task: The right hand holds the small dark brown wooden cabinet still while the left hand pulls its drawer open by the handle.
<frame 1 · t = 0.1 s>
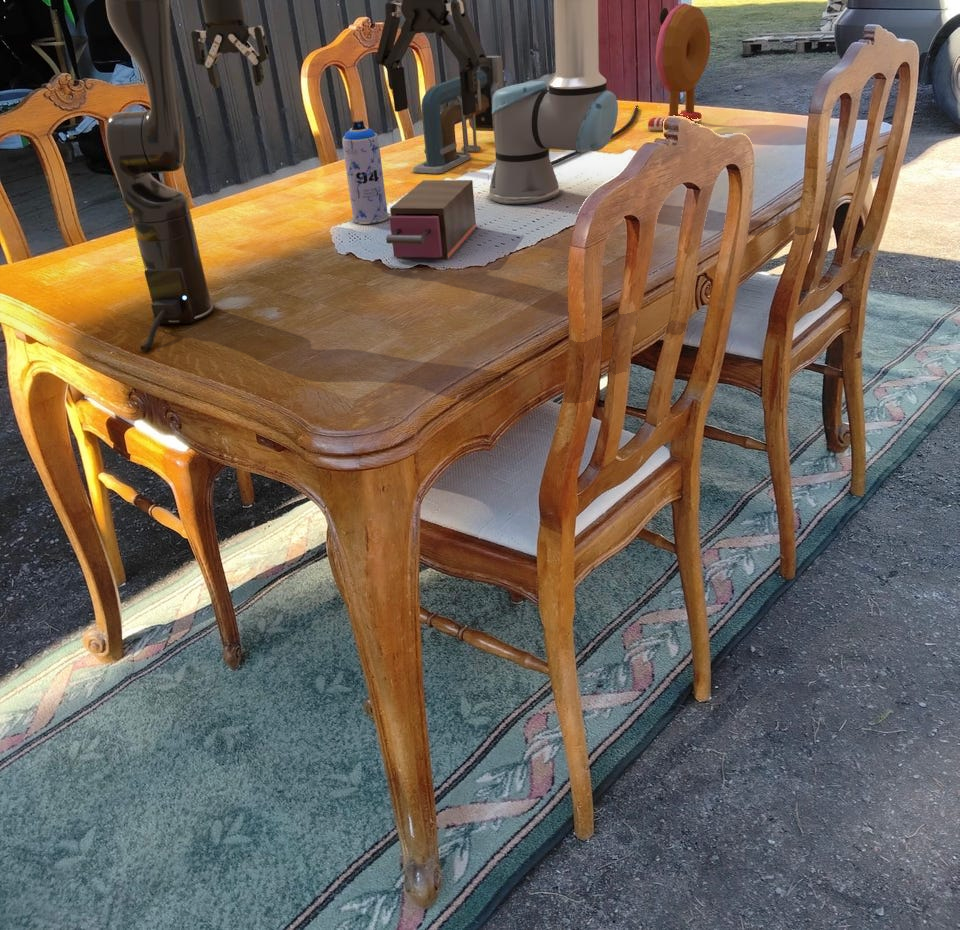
left hand: (238, 86, 189), 29 cm above the table, tool pointing down, fingers open, 8 cm apart
right hand: (434, 111, 158), 28 cm above the table, tool pointing down, fingers open, 13 cm apart
cabinet: (437, 241, 190), on the table
toy: (676, 126, 261), on the table
drawer: (425, 227, 182), point 5 cm above the table, slide at 1.2 cm
clamp: (460, 156, 250), on the table
aerosol can: (370, 219, 206), on the table
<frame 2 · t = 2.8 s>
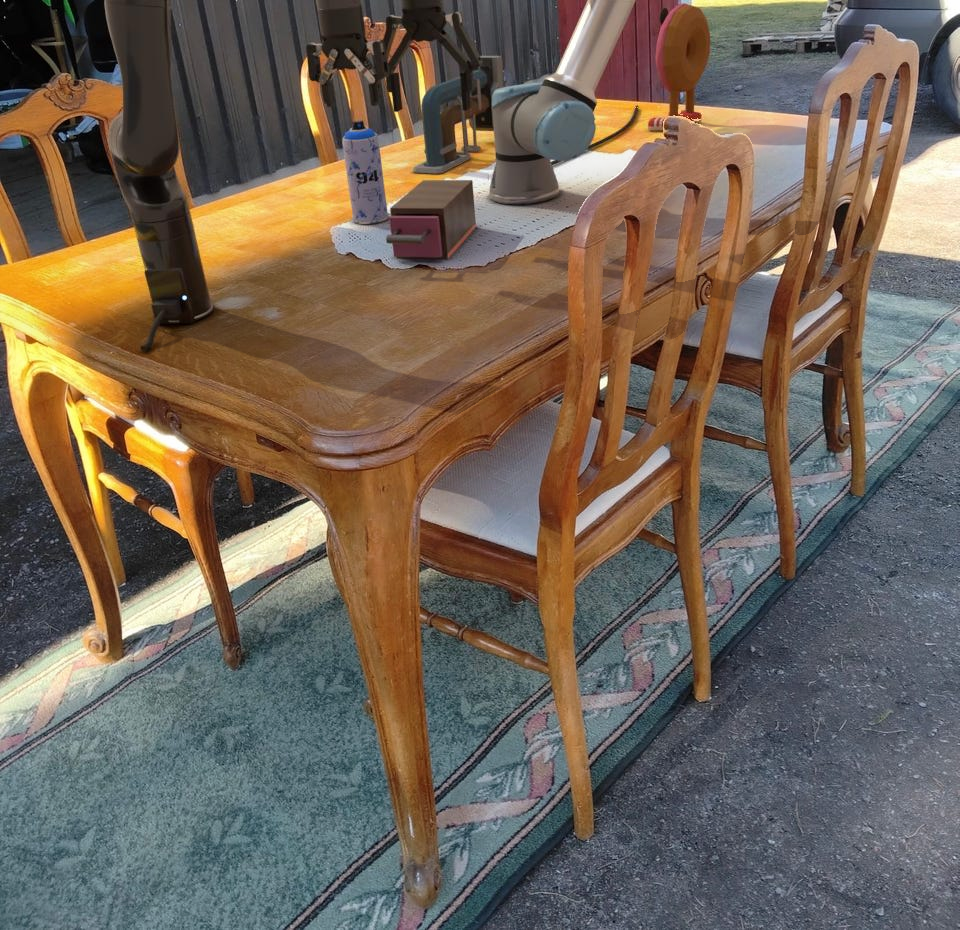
left hand: (353, 105, 170), 28 cm above the table, tool pointing down, fingers open, 8 cm apart
right hand: (432, 109, 181), 24 cm above the table, tool pointing down, fingers open, 13 cm apart
nothing on the table moved.
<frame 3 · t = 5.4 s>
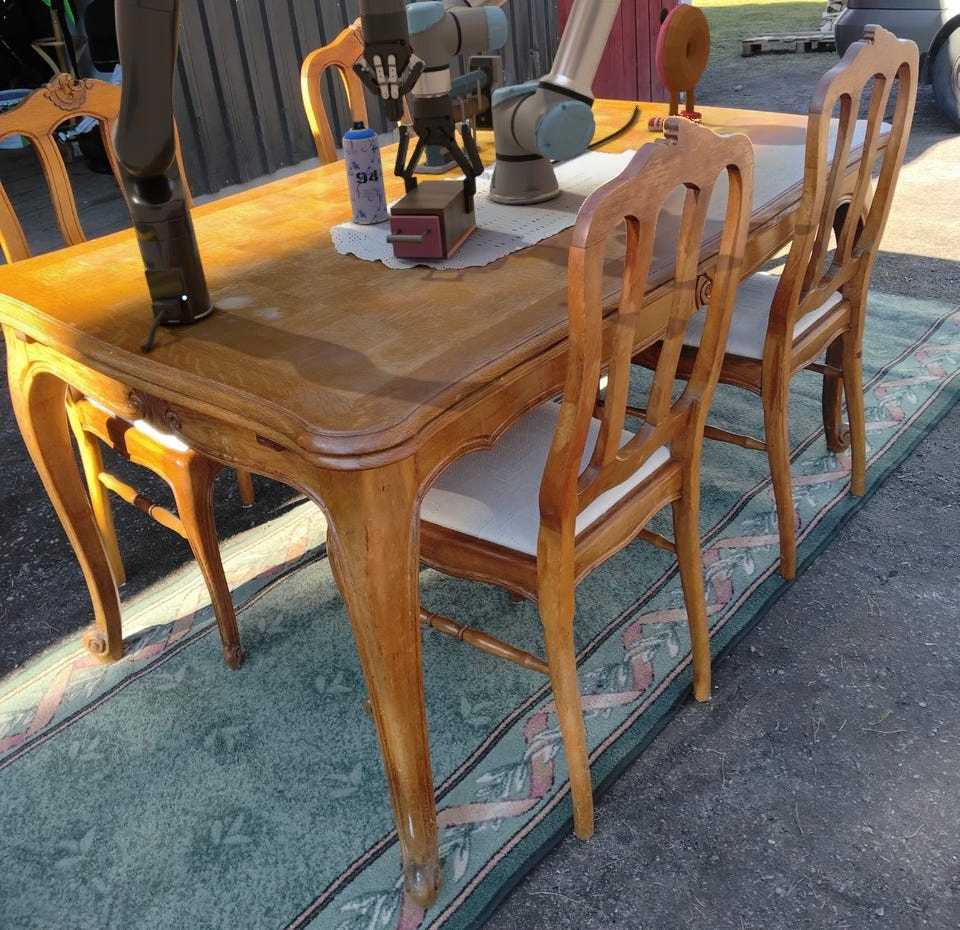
left hand: (395, 120, 164), 26 cm above the table, tool pointing down, fingers closed
right hand: (442, 211, 191), 5 cm above the table, tool pointing down, fingers closed on cabinet, 10 cm apart
cabinet: (437, 241, 190), on the table, touching right hand
everything else where it was.
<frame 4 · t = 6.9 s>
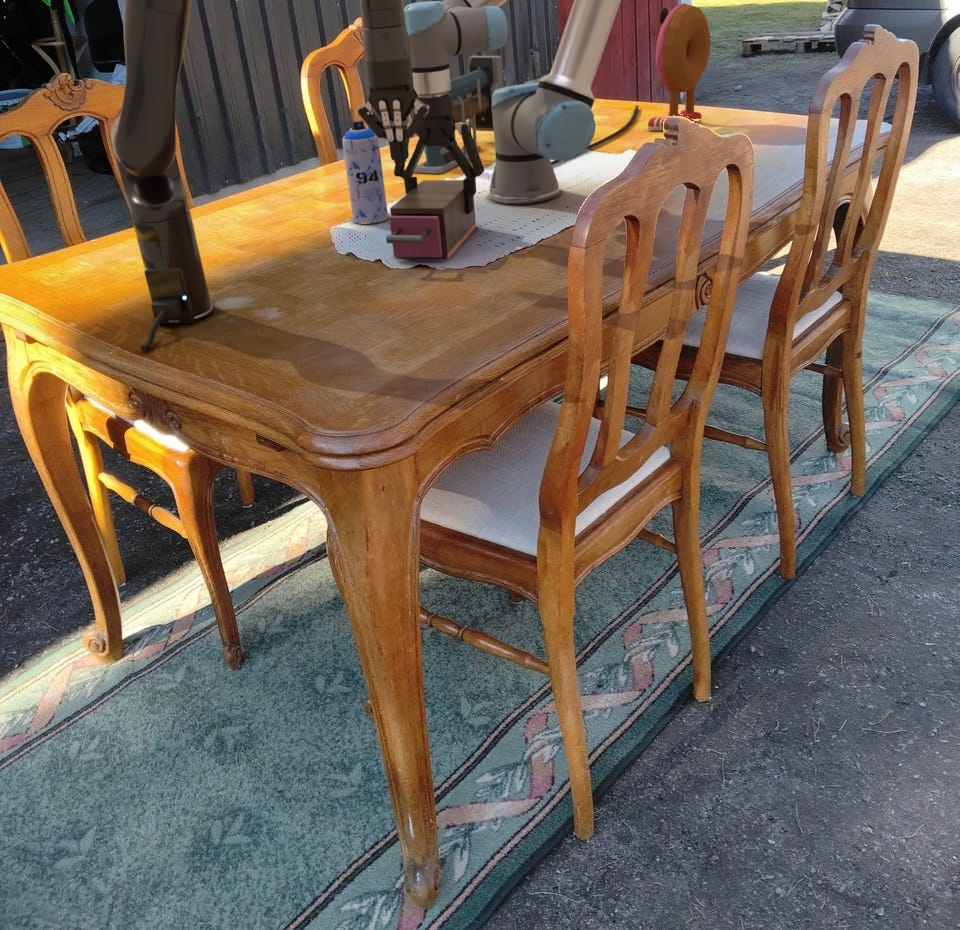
left hand: (400, 162, 168), 19 cm above the table, tool pointing down, fingers closed
right hand: (442, 211, 191), 5 cm above the table, tool pointing down, fingers closed on cabinet, 10 cm apart
cabinet: (437, 241, 190), on the table, touching right hand
everything else where it was.
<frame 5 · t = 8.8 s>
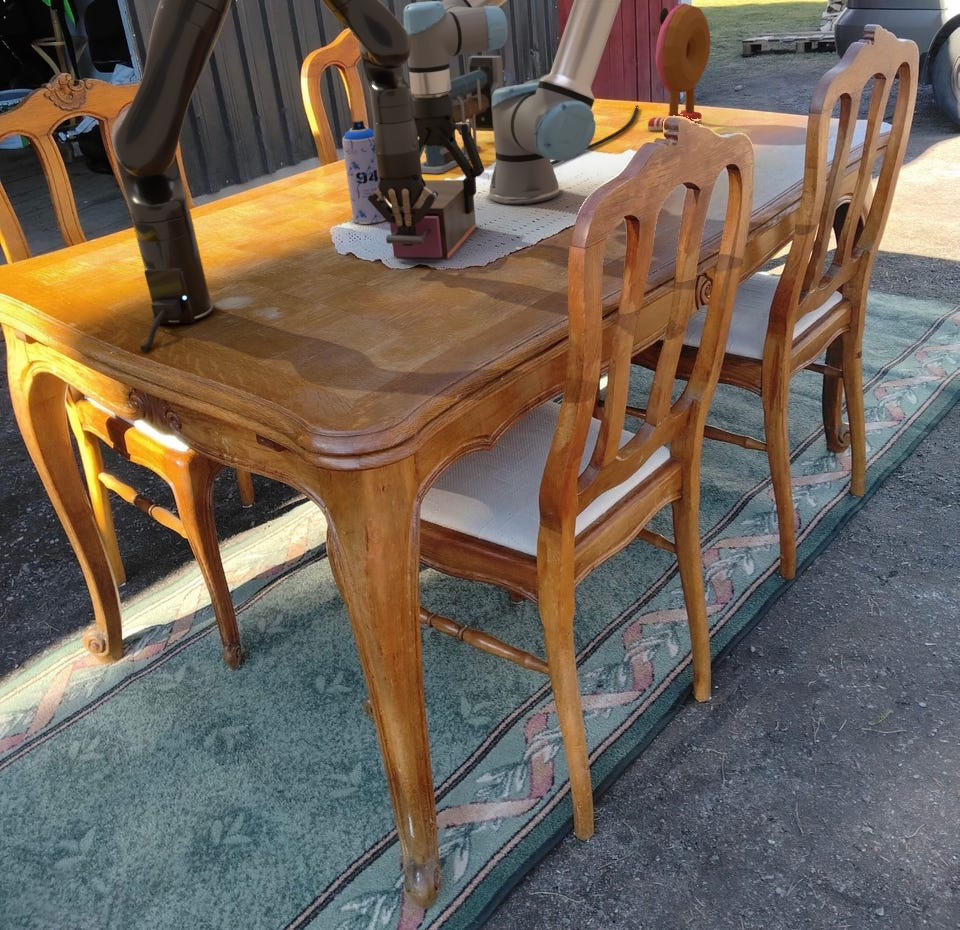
left hand: (408, 244, 175), 4 cm above the table, tool pointing down, fingers closed
right hand: (442, 211, 191), 5 cm above the table, tool pointing down, fingers closed on cabinet, 10 cm apart
cabinet: (437, 241, 190), on the table, touching right hand
drawer: (425, 227, 182), point 5 cm above the table, slide at 1.2 cm, touching left hand
everything else where it was.
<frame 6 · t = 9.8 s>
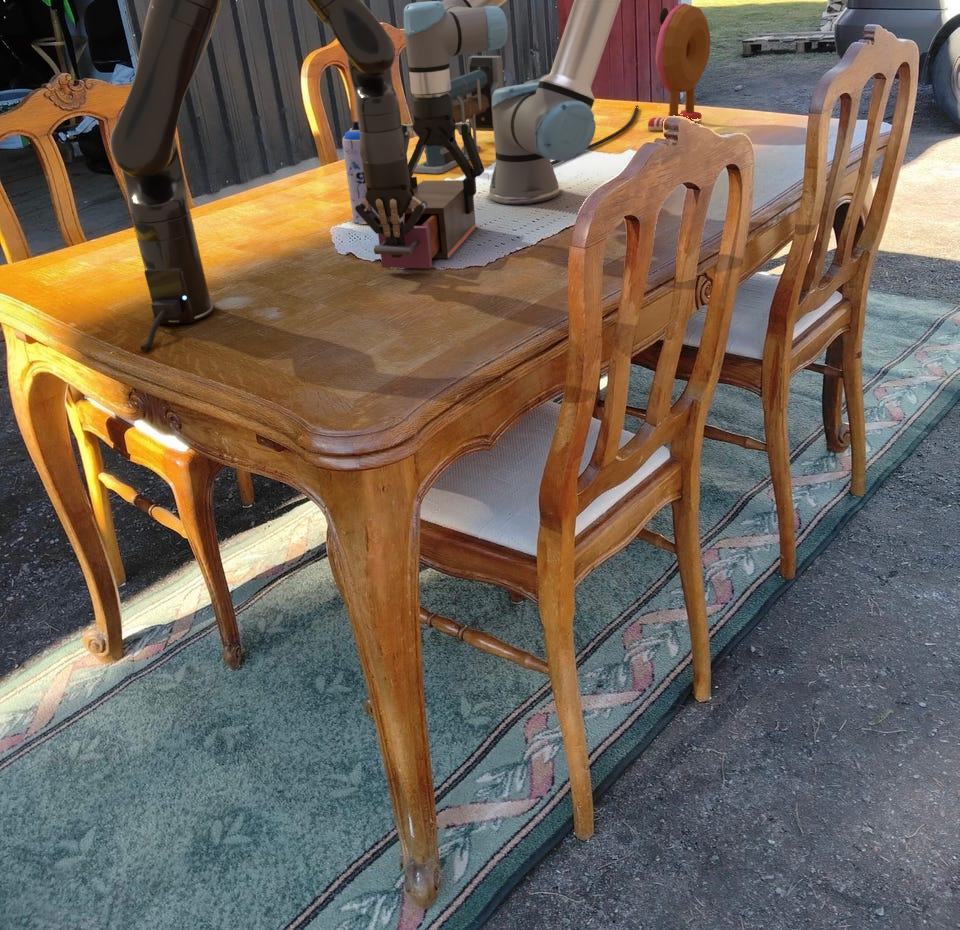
left hand: (397, 256, 170), 5 cm above the table, tool pointing down, fingers closed
right hand: (442, 211, 191), 5 cm above the table, tool pointing down, fingers closed on cabinet, 10 cm apart
cabinet: (437, 241, 189), on the table, touching right hand
drawer: (414, 237, 177), point 5 cm above the table, slide at 7.4 cm, touching left hand
everything else where it was.
when the right hand's fingers open (5 cm above the table, at t = 11.5 s): cabinet stays where it is, on the table.
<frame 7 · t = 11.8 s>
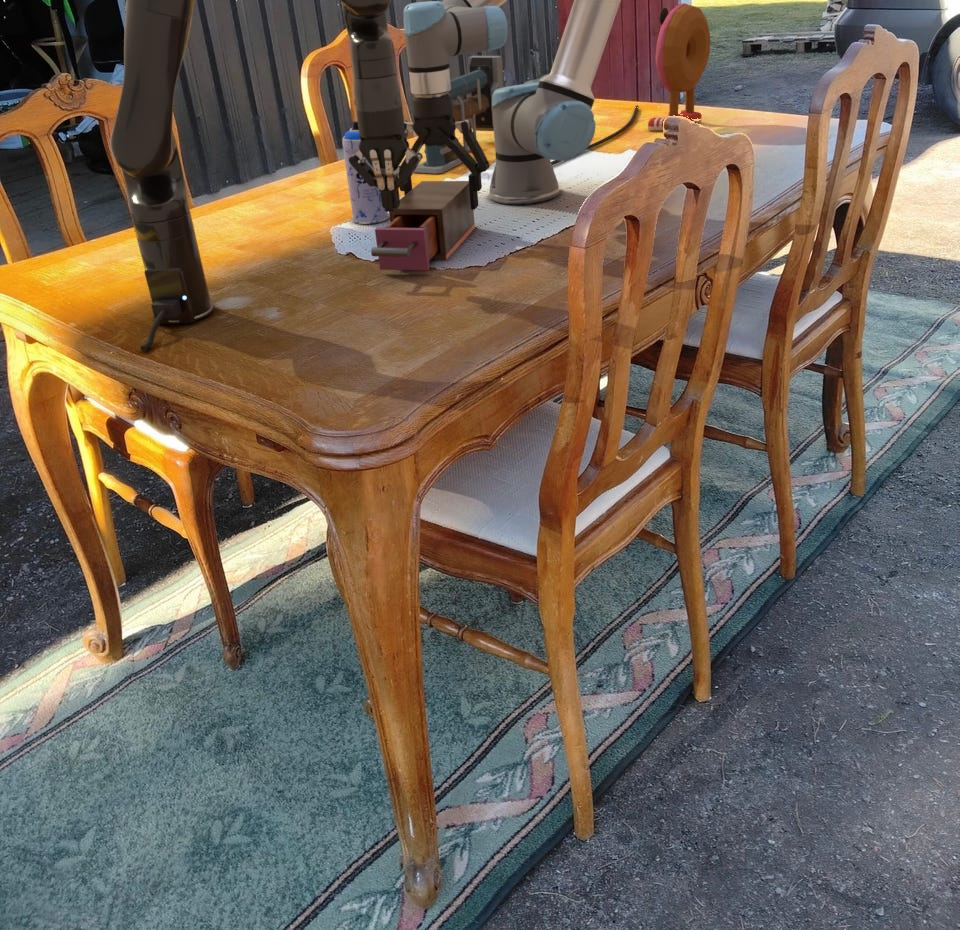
left hand: (391, 210, 166), 13 cm above the table, tool pointing down, fingers closed
right hand: (442, 207, 191), 5 cm above the table, tool pointing down, fingers open, 13 cm apart
cabinet: (436, 242, 189), on the table
drawer: (412, 239, 176), point 5 cm above the table, slide at 7.8 cm
everything else where it was.
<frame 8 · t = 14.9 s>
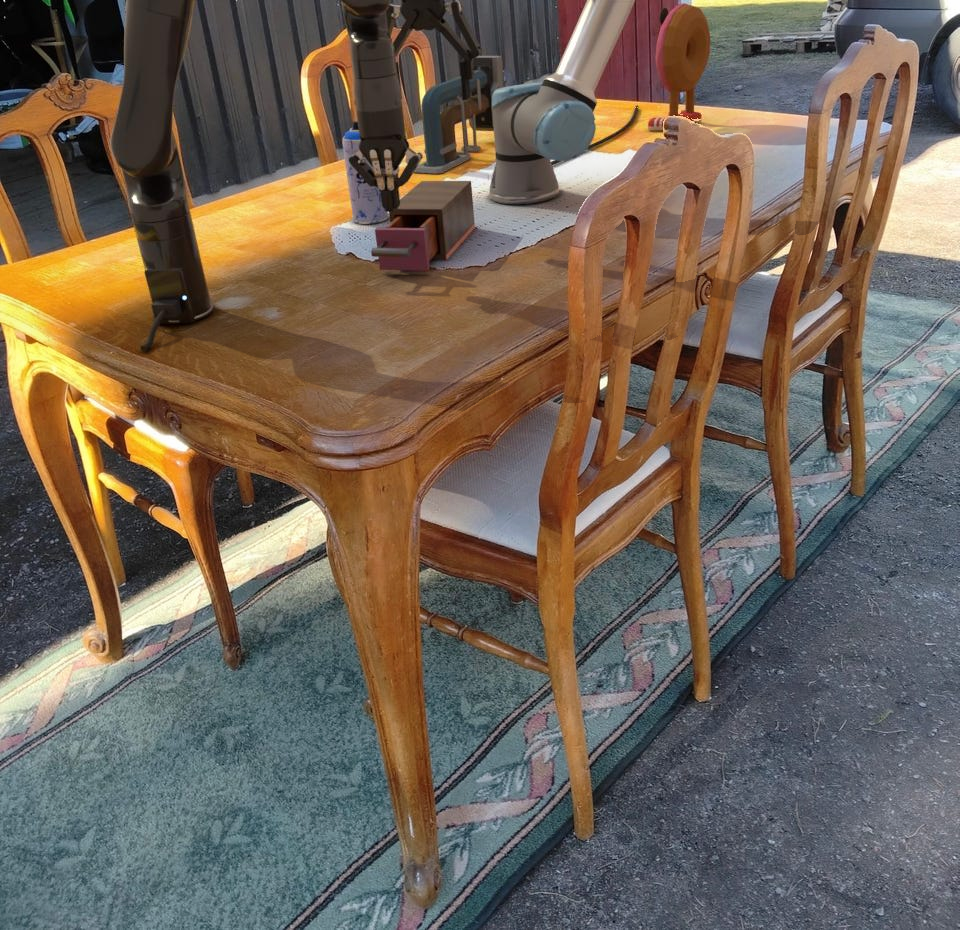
left hand: (391, 210, 166), 13 cm above the table, tool pointing down, fingers closed
right hand: (431, 99, 180), 26 cm above the table, tool pointing down, fingers open, 13 cm apart
nothing on the table moved.
at the end: drawer slide at 7.8 cm; cabinet tilted 0°; cabinet never tilted more than 3° during the clip; cabinet moved 0.6 cm from its start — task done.
